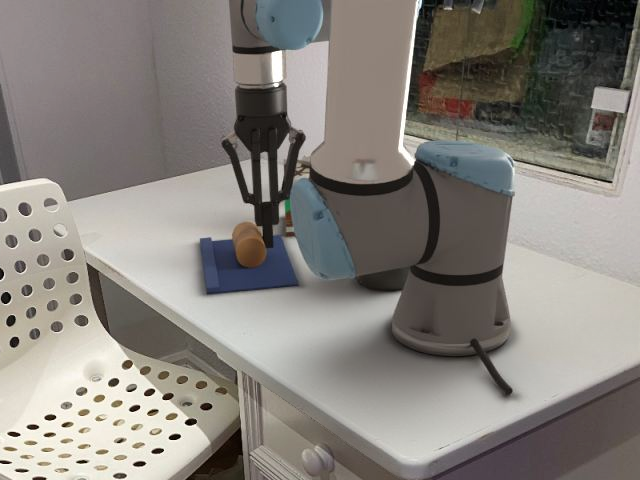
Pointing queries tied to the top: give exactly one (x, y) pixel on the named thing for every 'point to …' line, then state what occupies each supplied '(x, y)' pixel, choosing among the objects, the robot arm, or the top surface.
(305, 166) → the food container
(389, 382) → the top surface
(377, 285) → the jar
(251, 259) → the roller
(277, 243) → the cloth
